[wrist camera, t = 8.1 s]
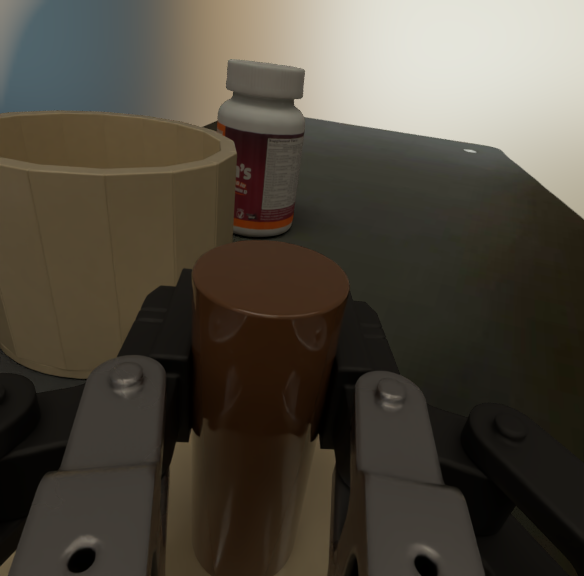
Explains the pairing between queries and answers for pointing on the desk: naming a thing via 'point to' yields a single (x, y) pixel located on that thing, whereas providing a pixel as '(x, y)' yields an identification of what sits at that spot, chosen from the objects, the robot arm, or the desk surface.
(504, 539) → the robot arm
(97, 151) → the canister
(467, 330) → the desk surface
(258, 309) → the lid
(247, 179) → the pill bottle
